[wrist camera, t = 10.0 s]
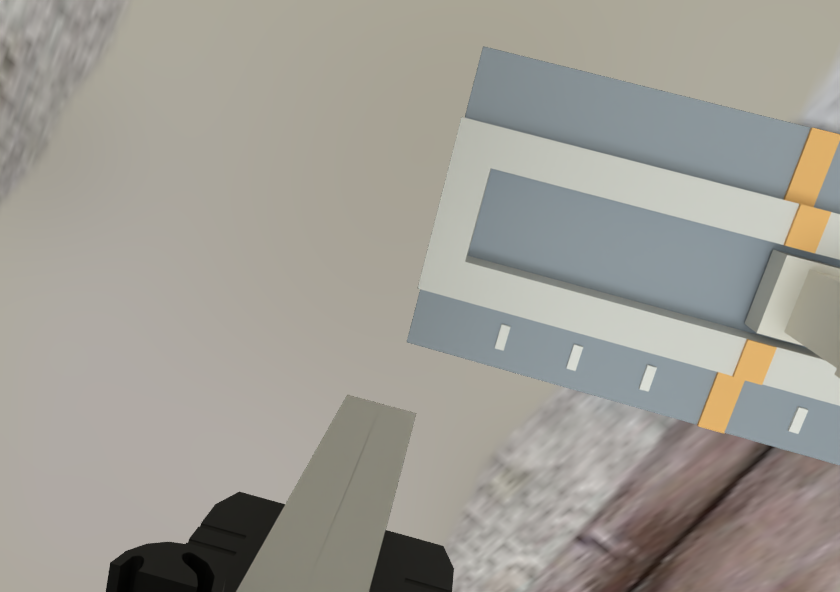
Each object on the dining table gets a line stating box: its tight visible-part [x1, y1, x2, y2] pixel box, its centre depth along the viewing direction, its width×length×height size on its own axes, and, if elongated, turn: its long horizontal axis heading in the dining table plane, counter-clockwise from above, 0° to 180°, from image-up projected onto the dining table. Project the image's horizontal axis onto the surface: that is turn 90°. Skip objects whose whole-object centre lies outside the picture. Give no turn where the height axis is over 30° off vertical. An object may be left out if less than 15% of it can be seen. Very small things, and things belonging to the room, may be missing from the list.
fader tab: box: [744, 249, 840, 378], centre depth 30 cm, size 4×4×8 cm
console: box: [407, 47, 840, 465], centre depth 35 cm, size 16×24×4 cm, turn 76°
